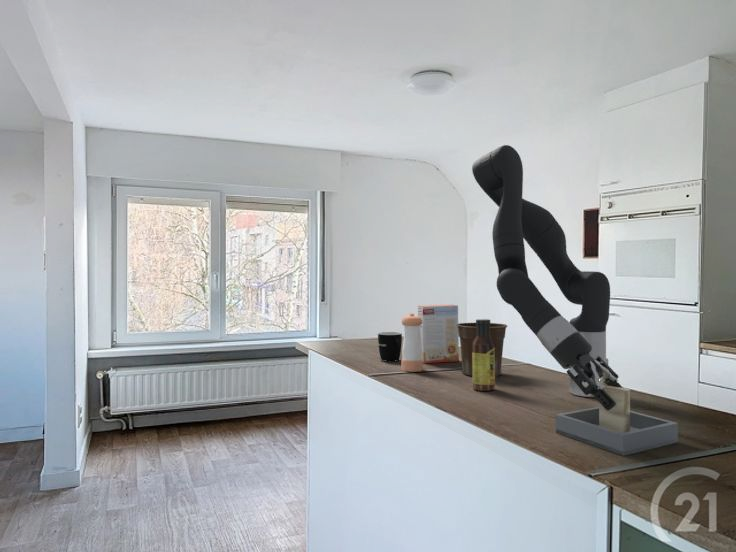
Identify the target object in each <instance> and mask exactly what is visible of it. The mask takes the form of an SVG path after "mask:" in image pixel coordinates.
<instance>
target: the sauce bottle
mask: <svg viewBox="0 0 736 552" xmlns="http://www.w3.org/2000/svg"><path fill="white" fill-rule="evenodd" d="M475 323H476V326H477V333H476V334H477V336H476V338H475V339H474V341H473V352H472V370H473V376H472V388H473V390H475V391H481V392H489V391H490V392H491V391H494V390H495V384H496V376H495V347H494V344H493V341H492V339H491V336H490V323H491V319H489V318H479V319H476V320H475Z"/></svg>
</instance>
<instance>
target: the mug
mask: <svg viewBox="0 0 736 552" xmlns="http://www.w3.org/2000/svg"><path fill="white" fill-rule="evenodd" d="M377 343H378V352H379V357H380V360H381V359H382V360H386V361H385V362H389V361H391V362H396V361H395V360H398V361H399V360H400V358H401V351H402V346H403V334H402V332H398V331H382V332H378V333H377ZM382 360H381V361H382Z"/></svg>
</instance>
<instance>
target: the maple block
mask: <svg viewBox="0 0 736 552" xmlns="http://www.w3.org/2000/svg"><path fill="white" fill-rule="evenodd" d="M602 389H604V390H605V392H606V393H607V394H608V395H609V396H610V397H611V398H612V399H613V400H614V401H615V403H616V405H615V406H614V407H613V408H612V409H610V410H606V409H605V408H604V407H603V406H602V405H601V404H600V402H599V401H598V407H599V426H601V427H604V428H607V429H611V430H614V431H617V432H620V433H624V432H629V431H630V411H631V388H626V387H623V388H620V387H612V386H605V387H603V388H602ZM602 389H601V390H602Z"/></svg>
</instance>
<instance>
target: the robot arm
mask: <svg viewBox="0 0 736 552" xmlns="http://www.w3.org/2000/svg"><path fill="white" fill-rule="evenodd" d="M523 167H524V166H523V160H522V159H521V156H520V154H519V153H518V151H517V150H516V149H515V147H512V146H511V145H508V144H506V145H505V144H504V145H501V146H499V147H497V148H495V149H492V150H491V151H490V152H488V153H486V154H484V155H482V156H480V157H479V158H477V159H476V160H475V161H474V162H473V163H472V167H471V171H472V175H473V178H474V179H475V182H476V183H477V184H478V186H479V188H481V190H483V192H484V193H485V194H486V195H487V196H488V197H489V198H490V199H491V200H492V201H493V202H494V203H495V205H496V206H498V209H497V213H496V216H495V218H494V221H493V225H492V226H493V227H492V232H491V233H492V244H493V253H494V258H495V261H496V264H497V270H498V271H497V272H498V276H497V278H496V288H497V291H498V293H499V296H500V297H501V299H502V301H504V302H505V303H506V304H508V305H510V306H512V307H513V309H515V311H516V312H518V315H520V316H521V319H522V320H523V322H524V324H526V325H527V327H528V328H529V329H530V331H531V332H533V334H534V335H535V336H536V337H537V339H538V341H540V344H542V345H543V347H544V348H545V350H546V351H548V353H549V354H550V355H551V356H552V357H553V359H555V361H556V362H557V363H558V364H559V366H561V367H562V369H564V370H566V374H567V375H568V376H569V393H570V394H572V395H575V396H579V397H587V398H595V399H596V400H597V402H598V403H599V402H600V404H601V405H602V406H603V407H604V408H605V409H606V410H610V409H612V408H613V407H614V406H615V405H616V403H615V401H614V400H613V399H612V398H611V397H610V396H609V395H608V394H607V393H606V392H605V390H604V389H602V388H603V387H605V386H612V387H620V388H624V387H623V386H622V385H621V383H619V380H618V378H619V377H620V376H619V375H618V374H617V373H616V372H615V371H614V369H613V368H611V367H610V366H609V359H608V358H607V324H608V322H609V318H610V308H611V307H610V305H611V285H610V281H609V278H608V277H607V275H606V274H604V273H603V272H600V271H589V270H586V271H582V270H580V269H579V268H578V267H577V266H576V264H574V263H573V261H572V260H571V259H570V257H569V255H568V251H567V238H566V233H565V231H564V229H563V227H562V226H561V225H560V223H559V222H558V221H557V219H556V218H555V217H554V215H553V214H552V213H551V212H550V211H549V210H548V209H546V208H544V207H542V206H540V205H539V204H536V203H533V202H531V201H528V200H526V199H524V198H523V192H524V191H523V184H524V168H523ZM524 241H525V242H526V243H527V244H528V246H529V247H530V249H531V250H533V252H534V253H535V254H536V256H537V257H538V258H539V260H540V261H541V263H542V264H543V265H544V267H546V269H547V270H548V272H549V273H550V275H551V276H552V278H553V279H554V282H556V285H557V286H558V288H559V290H560V291H561V293H562V294H563V296H564V298H565V299H567V301H568V302H569V303H571V304H574V305H580V306H581V312H580V313H579V315H578V316H576V317H573V318H571V319H570V321H568V320H567V319H566V318H565V317H564V316H563V315H562V314H561V312H559V311H558V310H557V309H556V307H554V306H553V305H552V304H551V302H550V301H548V300H547V299H546V298H545V296H544V295H543V294H542V293H541V291H540V290H539V288H538V287H537V286H536V285H535V283H534V282H533V281H532V280H531V279H530V277H529V273H528V268H527V264H526V263H527V262H526V249H525V242H524ZM601 389H602V390H601Z"/></svg>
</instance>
